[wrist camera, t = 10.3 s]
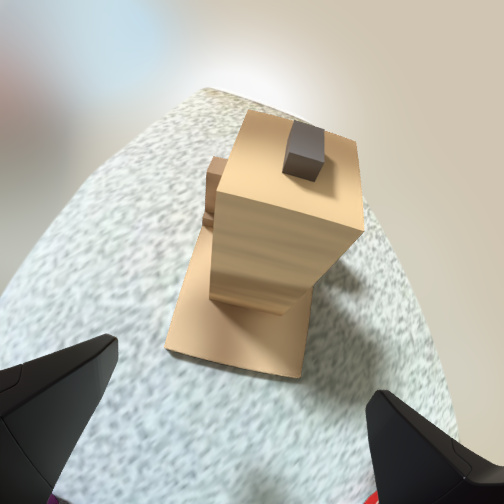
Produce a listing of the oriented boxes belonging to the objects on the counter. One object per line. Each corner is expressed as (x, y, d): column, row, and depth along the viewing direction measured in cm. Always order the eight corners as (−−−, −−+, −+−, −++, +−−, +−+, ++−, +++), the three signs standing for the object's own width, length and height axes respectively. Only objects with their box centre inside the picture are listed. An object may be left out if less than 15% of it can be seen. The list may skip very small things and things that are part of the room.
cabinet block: (281, 316, 18) (379, 214, 8) (208, 299, 18) (218, 168, 7) (290, 252, 21) (364, 125, 10) (226, 236, 20) (252, 91, 10)
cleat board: (314, 237, 23) (344, 192, 17) (296, 378, 17) (334, 373, 12) (209, 209, 22) (213, 156, 17) (165, 348, 17) (147, 332, 11)
